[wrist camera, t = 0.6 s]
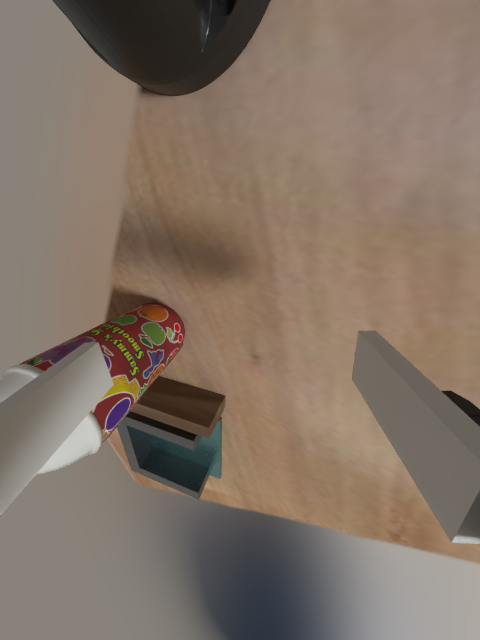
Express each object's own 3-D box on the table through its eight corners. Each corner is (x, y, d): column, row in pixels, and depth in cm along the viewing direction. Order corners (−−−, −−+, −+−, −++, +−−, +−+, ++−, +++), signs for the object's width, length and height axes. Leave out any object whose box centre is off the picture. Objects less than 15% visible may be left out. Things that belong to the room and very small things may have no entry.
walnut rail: (125, 366, 34) (97, 390, 30) (225, 396, 30) (208, 428, 26) (128, 376, 35) (101, 400, 31) (225, 406, 31) (209, 439, 27)
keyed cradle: (134, 389, 36) (111, 411, 32) (221, 417, 32) (207, 446, 29) (148, 446, 44) (131, 470, 40) (221, 475, 40) (210, 504, 36)
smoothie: (200, 308, 25) (-57, 534, 8) (191, 363, 29) (11, 582, 13) (135, 282, 26) (-201, 432, 10) (135, 338, 31) (-94, 508, 14)
